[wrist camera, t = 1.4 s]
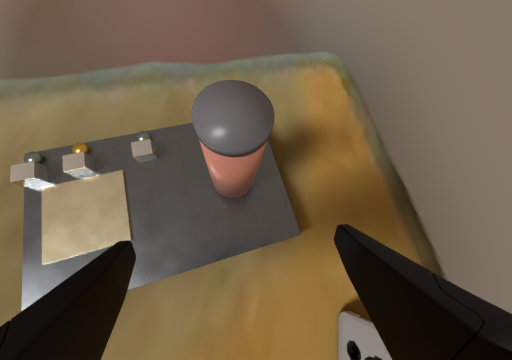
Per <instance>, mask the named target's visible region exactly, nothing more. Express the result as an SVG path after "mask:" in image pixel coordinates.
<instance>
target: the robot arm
mask: <svg viewBox="0 0 512 360" xmlns="http://www.w3.org/2000/svg"><path fill="white" fill-rule="evenodd" d="M334 242H335V245H336V248H337V250H338V253H339V255H340V258H341V260H342V262H343V265H344V267H345V270H346V272H347V274H348V276H349V278H350V280H351V282H352V284H353V286H354V288H355V290H356V292H357V294H358V296H359V297H360V299H361V301H362V303H363V305H364V307H365V309H366V311H367V313H368V315H369V317H370V318H371V320H372V322H373V324H374V326H375V328H376V330H377V332H378V334H379V336H380V338H381V339H382V341H383V343H384V345H385V347H386V349H387V351H388V353H389V355H390V357H391V359H392V360H512V314H511V313H509V312H507V311H505V310H503V309H501V308H499V307H497V306H495V305H493V304H491V303H489V302H487V301H485V300H483V299H481V298H479V297H477V296H475V295H473V294H471V293H469V292H467V291H465V290H464V289H462V288H460V287H458V286H456V285H454V284H453V283H451V282H449V281H447V280H445V279H444V278H442V277H440V276H438V275H436V274H435V273H432V272H431V271H429V270H428V269H426V268H424V267H422V266H420V265H419V264H417V263H415V262H413V261H412V260H410V259H408V258H406V257H405V256H403V255H401V254H399V253H397V252H396V251H394V250H392V249H390V248H389V247H387V246H385V245H383V244H381V243H380V242H378V241H376V240H374V239H373V238H371V237H369V236H367V235H366V234H364V233H362V232H360V231H358V230H357V229H355V228H353V227H351V226H350V225H348V224H341V225H338V226H337V229H336V233H335V237H334ZM135 261H136V253H135V250H134V247H133V245H132V242H131V241H129V240H125V241H119V242H117V243H115V244H114V245H113V246H111V247H110V248H109V249H107V250H106V251H104V252H103V253H102V254H100V255H99V256H98V257H96V258H95V259H93V260H92V261H91V262H89V263H88V264H86V265H85V266H84V267H82V268H81V269H80V270H78V271H77V272H75V273H74V274H73V275H71V276H70V277H69V278H67V279H66V280H64V281H63V282H62V283H60V284H59V285H57V286H56V287H55V288H53V289H52V290H51V291H49V292H48V293H46V294H45V295H44V296H42V297H41V298H40V299H38V300H37V301H35V302H34V303H33V304H31V305H30V306H28V307H27V308H26V309H24V310H23V311H22V312H20V313H19V314H17V315H16V316H15V317H13V318H12V319H11V321H8V322H6V323H5V324H3V325H2V326H1V327H0V360H101V357H102V355H103V352H104V350H105V347H106V345H107V342H108V340H109V337H110V335H111V332H112V330H113V327H114V325H115V322H116V320H117V317H118V315H119V312H120V310H121V307H122V305H123V302H124V299H125V296H126V293H127V290H128V286H129V283H130V279H131V276H132V272H133V268H134V265H135Z"/></svg>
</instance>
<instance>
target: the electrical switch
mask: <svg viewBox="0 0 512 360" xmlns="http://www.w3.org/2000/svg"><path fill="white" fill-rule="evenodd" d="M338 360H392V359H391V357H390V355H389V353H388V351H387V349H386V347H385V345H384V343H383V341H382V339H381V338H380V336H379V334H378V332H377V330H376V328H375V326H374V324H373V322H371V321H368V320H366V319H364V318H361V317H360V315H358V314H356V313H353V312H351V311H343V312H341V313H340V315H339V328H338Z"/></svg>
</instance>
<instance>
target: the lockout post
mask: <svg viewBox="0 0 512 360" xmlns="http://www.w3.org/2000/svg"><path fill="white" fill-rule="evenodd" d="M191 115H192V121H193V125H194V128H195V131H196V134H197V136H198V138H199V141H200V144H201V147H202V150H203V154H204V157H205V160H206V163H207V167H208V170H209V173H210V176H211V179H212V183H213V186H214V188H215V189H216V191H217V192H218V193H220V194H221V195H223V196H225V197H228V198H238V197H241V196H243V195H245V194H246V193H248V192H249V191H250V189H251V188H252V186H253V183H254V180H255V176H256V173H257V170H258V167H259V164H260V161H261V158H262V155H263V152H264V149H265V145H266V142H267V140H268V138H269V136H270V133H271V130H272V127H273V124H274V110H273V106H272V104H271V102H270V100H269V99H268V97H267V96H266V95H265V94H264V93H263V92H262V91H261V90H260V89H258V88H257V87H255V86H254V85H251V84H249V83H246V82H243V81H238V80H224V81H219V82H216V83H213V84H211V85H209V86H208V87H206V88H205V89H203V90H202V91H201V92H200V93H199V94H198V96H197V97H196V99H195V101H194V103H193V106H192V111H191Z"/></svg>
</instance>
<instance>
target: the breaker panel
mask: <svg viewBox="0 0 512 360" xmlns="http://www.w3.org/2000/svg"><path fill="white" fill-rule="evenodd" d="M24 161H25V163H23V164H18V165H13V166H11V176H10V182H11V183H14V184H17V185H21V186H24V228H23V274H22V311H23V310H24V309H26V308H27V307H28V306H30V305H31V304H33V303H34V302H35V301H37V300H38V299H40V298H41V297H42V296H44V295H45V294H46V293H48V292H49V291H51V290H52V289H53V288H55V287H56V286H57V285H59V284H60V283H62V282H63V281H64V280H66V279H67V278H69V277H70V276H71V275H73V274H74V273H75V272H77V271H78V270H80V269H81V268H82V267H84V266H85V265H86V264H88V263H89V262H91V261H92V260H93V259H95V258H96V257H98V256H99V255H100V254H102V253H103V252H104V251H106V250H107V249H109V248H110V247H111V246H113V245H114V244H115V243H117V242H119V241H125V240H129V241H131V242H132V245H133V247H134V250H135V253H136V261H135V265H134V268H133V272H132V276H131V279H130V283H129V286H128V290H129V289H132V288H135V287H138V286H141V285H145V284H148V283H151V282H154V281H157V280H160V279H163V278H166V277H169V276H173V275H176V274H179V273H182V272H185V271H188V270H191V269H194V268H198V267H201V266H204V265H207V264H210V263H213V262H216V261H219V260H222V259H226V258H229V257H232V256H235V255H238V254H241V253H244V252H247V251H250V250H254V249H257V248H260V247H263V246H266V245H269V244H272V243H275V242H279V241H282V240H285V239H288V238H291V237H294V236H297V235H300V234H301V232H300V229H299V226H298V223H297V221H296V218H295V215H294V212H293V209H292V206H291V204H290V201H289V198H288V195H287V192H286V189H285V186H284V184H283V181H282V178H281V175H280V172H279V169H278V166H277V164H276V161H275V158H274V155H273V152H272V149H271V146H270V144H269V141H268V140H267V142H266V145H265V149H264V152H263V155H262V158H261V161H260V164H259V167H258V170H257V173H256V176H255V180H254V183H253V186H252V188H251V189H250V191H249V192H248V193H246V194H245V195H243V196H241V197H238V198H228V197H225V196H223V195H221V194H220V193H218V192H217V191H216V189H215V188H214V186H213V183H212V179H211V176H210V173H209V170H208V167H207V163H206V160H205V157H204V154H203V150H202V147H201V144H200V141H199V138H198V136H197V134H196V131H195V128H194V125H193V123H189V124H183V125H178V126H173V127H167V128H162V129H156V130H151V131H146V132H145V131H141V132H139V133H135V134H130V135H124V136H119V137H114V138H108V139H103V140H97V141H92V142H87V143H77V144H75V145H71V146H65V147H60V148H55V149H49V150H44V151H38V152H29V153H27V154H25V156H24Z"/></svg>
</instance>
